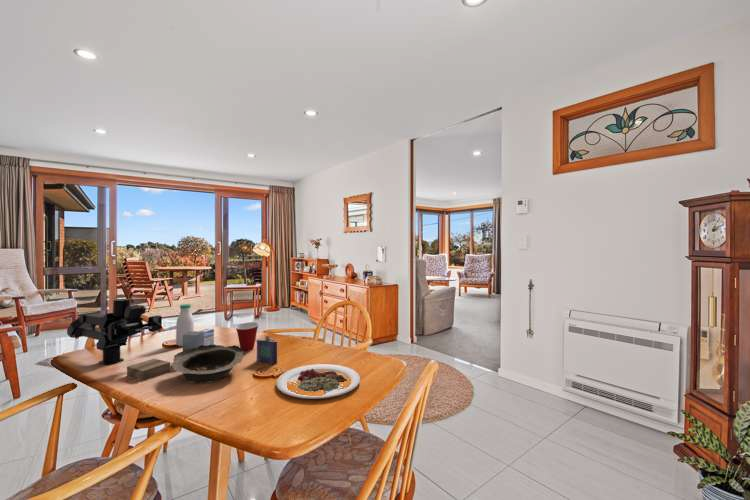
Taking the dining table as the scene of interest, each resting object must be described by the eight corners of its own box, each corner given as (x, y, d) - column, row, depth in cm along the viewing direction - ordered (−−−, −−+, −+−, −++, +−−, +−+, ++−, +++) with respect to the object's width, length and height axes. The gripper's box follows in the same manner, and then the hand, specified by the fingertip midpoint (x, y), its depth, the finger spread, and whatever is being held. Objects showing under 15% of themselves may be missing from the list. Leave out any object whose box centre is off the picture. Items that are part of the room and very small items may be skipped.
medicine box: (202, 351, 152) (202, 332, 152) (194, 350, 153) (194, 332, 153) (214, 346, 160) (214, 328, 160) (206, 345, 161) (206, 328, 161)
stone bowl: (214, 359, 141) (216, 338, 140) (256, 375, 130) (258, 352, 130) (155, 379, 119) (157, 354, 118) (200, 399, 108) (202, 372, 107)
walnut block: (126, 377, 122) (126, 366, 122) (154, 368, 131) (154, 358, 131) (143, 382, 118) (143, 371, 118) (170, 372, 127) (170, 362, 127)
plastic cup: (231, 348, 157) (231, 324, 157) (253, 344, 164) (253, 320, 164) (239, 354, 149) (239, 328, 149) (262, 349, 156) (262, 324, 156)
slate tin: (182, 363, 136) (182, 335, 136) (189, 358, 142) (189, 331, 142) (197, 363, 137) (197, 335, 137) (203, 358, 143) (203, 331, 143)
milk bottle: (197, 343, 164) (197, 304, 164) (181, 347, 157) (181, 306, 157) (188, 341, 168) (189, 302, 168) (172, 344, 161) (173, 304, 161)
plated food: (337, 410, 100) (337, 399, 100) (257, 393, 110) (257, 383, 110) (371, 375, 128) (371, 366, 128) (306, 364, 138) (306, 356, 138)
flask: (255, 361, 140) (255, 335, 140) (259, 359, 143) (260, 333, 143) (274, 365, 136) (275, 337, 136) (279, 362, 139) (279, 335, 139)
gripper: (99, 308, 124) (123, 313, 118) (149, 302, 141) (173, 305, 135) (98, 338, 124) (122, 343, 118) (149, 327, 141) (172, 332, 135)
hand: (149, 329), depth 126 cm, fingers open, 9 cm apart
